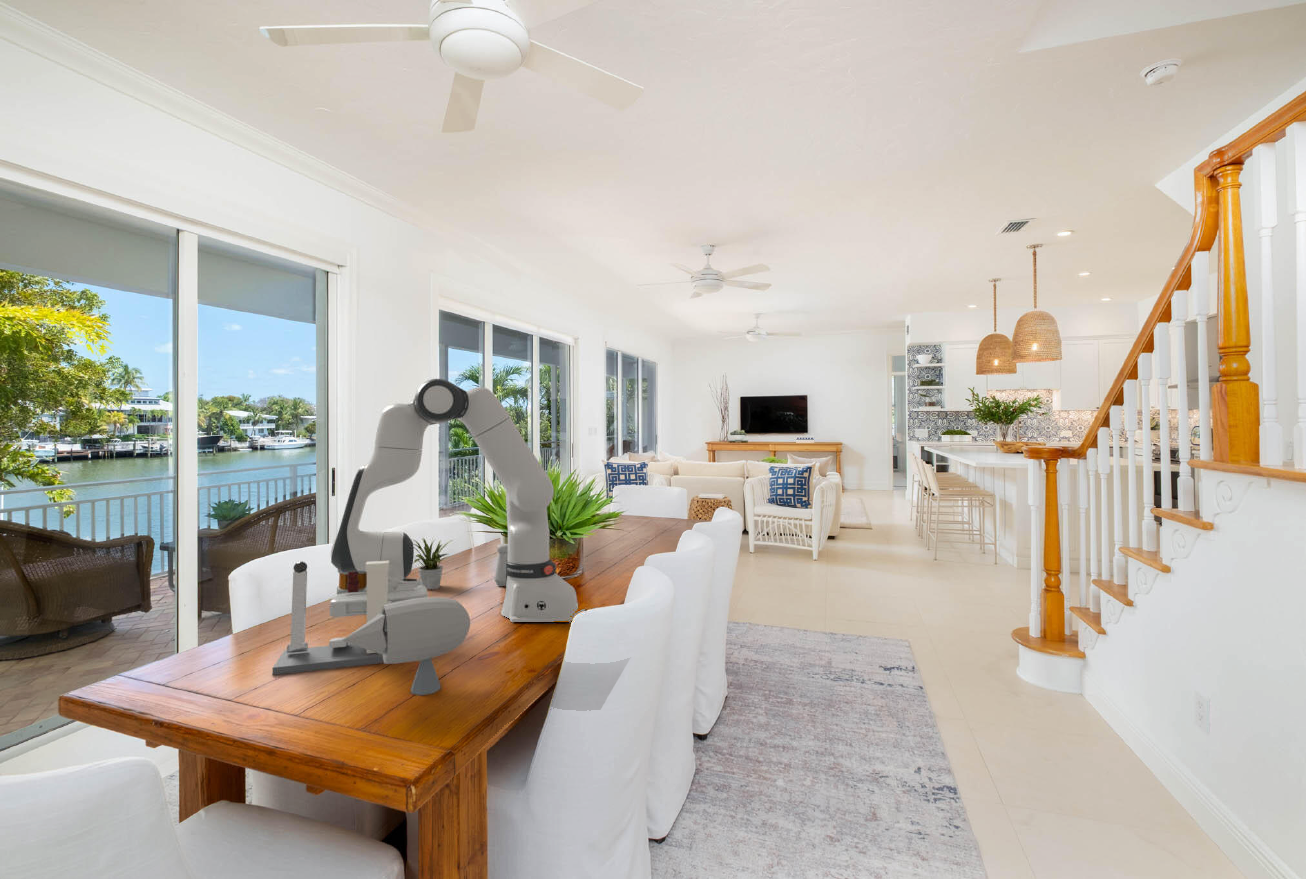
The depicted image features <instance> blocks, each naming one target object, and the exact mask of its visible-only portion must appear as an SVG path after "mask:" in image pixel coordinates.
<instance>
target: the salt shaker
mask: <svg viewBox="0 0 1306 879" xmlns="http://www.w3.org/2000/svg"><path fill="white" fill-rule="evenodd" d="M496 551H497V552H498V556H497V560H496V566H495V572H494V578H493V580H494V581H495V583H496V584H495V585H496V586H497V585H498V586H506V585H507V581H506V561H507V560H508V543H501V544H498V545H497V546H496ZM498 586H497V587H498Z"/></svg>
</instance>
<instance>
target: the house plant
mask: <svg viewBox="0 0 1306 879" xmlns="http://www.w3.org/2000/svg"><path fill="white" fill-rule="evenodd" d="M410 539H411V538H410ZM433 539H434V538H432V540H431V543H430V546H429V545H428V542H427V540H426V539H425V538H424V537H422V538H421V540H422V542H423V544H424V547H423V548H422V546H421V544H420V543H419V542H418V541H417V540H415V539H413V538H412V539H411V540H412V541H413V542H415V543H413V546H415V547H414V550H416V552H418V553H419V554H416V555H415V557H417V558H415V557H414V559H415V560H413V565H414V563H416V562H417V563H418V562H419V563H420V564H421V565H422V566H419V567H418V574H419V579H420V580H422V585H424V586H425V587H426V589H432V590H437V589H439V588H440V587H441V579H442V573H443V568H444V567H443V565H440V563H441V562H442V561H443V560H444V559H447V558H448V556H447V555H448V553H442V554H440V553H441V552H442V550H443V549H444V548H445V547H446V546H447V545H448V544H449V543H451V542H453V540H452V539H451V540H449V541H448V542H445V544H441V539H440V540H439V542H438V544H437V545H436V548H435V550H434V551H433V550H432V549H433V543H434V542H435V541H436V539H437V538H436V539H434V540H433ZM416 547H417V548H416ZM418 549H419V550H418ZM432 551H433V552H432ZM420 552H422V553H420ZM442 557H443V558H442ZM441 558H442V559H441ZM420 560H421V561H422V562H423V563H422V562H421V561H420Z"/></svg>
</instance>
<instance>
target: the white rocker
mask: <svg viewBox="0 0 1306 879" xmlns="http://www.w3.org/2000/svg"><path fill="white" fill-rule="evenodd" d="M346 637H347V636H343V637H341V636H340V637H333V638H332V639H330V640H329V641H328V646H329V648H335V647H345V646H347V645H348V644H350V643H347V642H344V641H341V640H343V639H344V638H346Z"/></svg>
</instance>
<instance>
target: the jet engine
mask: <svg viewBox="0 0 1306 879" xmlns="http://www.w3.org/2000/svg"><path fill="white" fill-rule="evenodd" d="M470 627H471V618H470V615H469V612H468V611H467V610H466V608H465V607H464V606H463V604H462V603H461V602H459V601H458V600H456V599H452V598H448V597H437V596H430V597H429V596H428V597H424V598H415V599H409V600H404V601H399V602H394V603H390V604H386V605H383V607H382V611H381V614H379V615H377V616H376V617H374V618H373V619H371V620H370V621H369V622H367V621H366V623H365V624H362V625H361V626H360V627H358V628H357V629H355V631H353V632H352V633H350V634H348V635H347V636H345V637H346V638H344V639H343V640H341V641H344V642H347V643H349V644H353V645H356V646H359V647H361V648H364V649H367V650H370V651H373V652H376V653H379V654H383V660H384V663H383V664H385V665H386V664H390V665H391V664H402V663H403V664H404V663H411V662H418V661H420V662H419V665H418V667H417V670H416V673H415V676H414V679H413V681H412V685H411V687H410V692H411V693H410V694H411V695H417V696H426V695H432V694H434V693H436V692H438V691H440V690H441V682H440V680H439V678H438V675H437V672H436V668H435V666H434V663H433V660H432V659H433V658H437V657H440V656H442V655H445V654H447V653H449V652H451V651H453V650H455V649H456V648H458V647H459V646H460V645H462V644H463V642H464V640H465V639H466V637H467V635H468V633H469V631H470Z"/></svg>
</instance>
